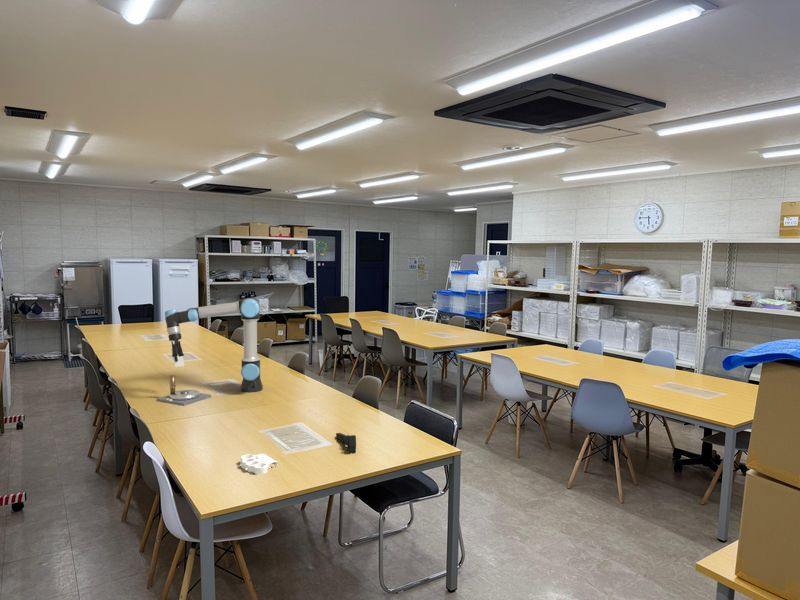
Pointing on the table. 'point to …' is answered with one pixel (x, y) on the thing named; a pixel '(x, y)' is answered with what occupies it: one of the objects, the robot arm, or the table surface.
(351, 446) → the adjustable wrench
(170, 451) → the table surface
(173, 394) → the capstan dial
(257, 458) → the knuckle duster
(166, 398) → the stand plate
